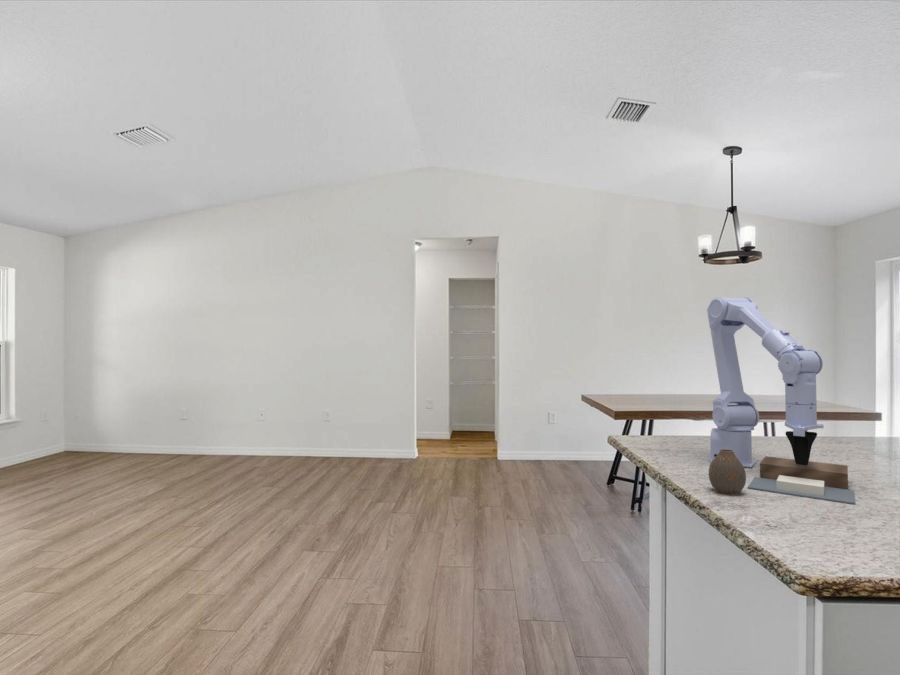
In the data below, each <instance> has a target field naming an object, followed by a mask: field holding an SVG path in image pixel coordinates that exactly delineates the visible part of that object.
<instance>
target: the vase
mask: <svg viewBox="0 0 900 675" xmlns="http://www.w3.org/2000/svg"><path fill="white" fill-rule="evenodd" d="M708 479H709V481H710V485H711V486H712V488H713V489H714V490H715V491H716V492H718V493H720V494H724V495H738V494H740V493H741V492H742V491H743V489H744V488H745V485H746V481H747V474H746V469H745V467H743V465H742V463H741V462H740V461H739V459H738V458H737V457H736V456H735V454H734V452H733V451H732V450H728V449H721V450H720V452H719V453H718V455H717V456H716V457H715V458H714V459H713V460H712V462H710V464H709V468H708Z"/></svg>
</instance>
